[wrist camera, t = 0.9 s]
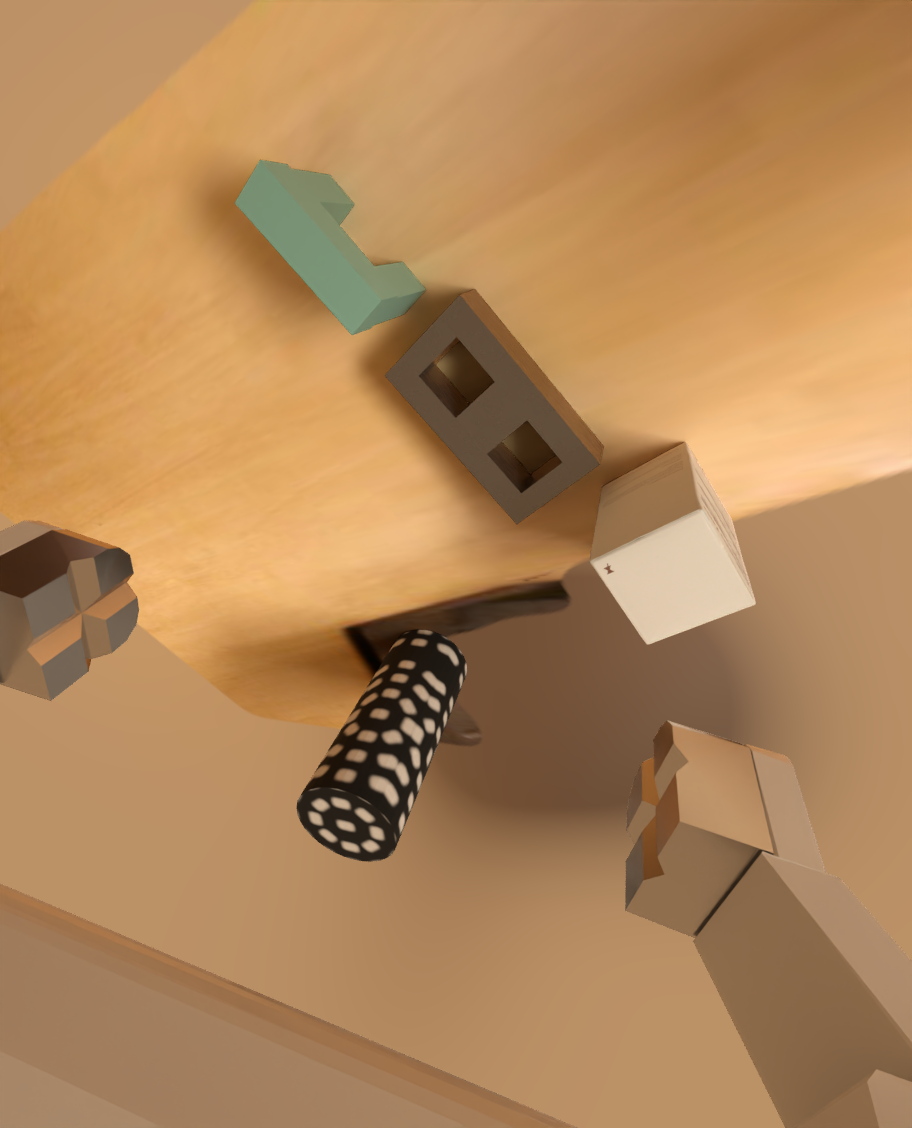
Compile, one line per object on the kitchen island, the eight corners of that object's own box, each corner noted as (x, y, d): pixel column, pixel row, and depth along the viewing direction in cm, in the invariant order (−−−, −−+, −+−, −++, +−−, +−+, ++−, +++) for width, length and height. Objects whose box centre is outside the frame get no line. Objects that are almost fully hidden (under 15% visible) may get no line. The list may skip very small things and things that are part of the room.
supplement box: (644, 557, 48) (643, 649, 38) (599, 485, 46) (584, 560, 36) (734, 518, 45) (759, 607, 34) (689, 437, 43) (701, 507, 32)
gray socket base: (474, 289, 42) (459, 294, 38) (603, 446, 45) (600, 464, 41) (403, 364, 46) (384, 375, 43) (525, 504, 49) (516, 524, 46)
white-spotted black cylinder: (465, 635, 58) (390, 800, 41) (468, 698, 62) (401, 871, 45) (388, 624, 60) (287, 777, 43) (395, 686, 64) (306, 847, 47)
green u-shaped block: (331, 171, 41) (260, 159, 33) (428, 287, 43) (381, 300, 35) (308, 206, 42) (234, 203, 35) (402, 316, 44) (351, 335, 37)
